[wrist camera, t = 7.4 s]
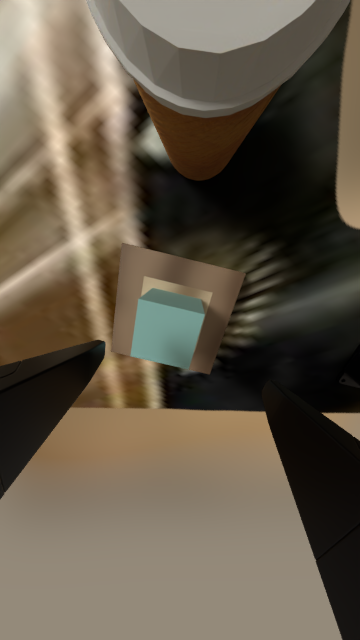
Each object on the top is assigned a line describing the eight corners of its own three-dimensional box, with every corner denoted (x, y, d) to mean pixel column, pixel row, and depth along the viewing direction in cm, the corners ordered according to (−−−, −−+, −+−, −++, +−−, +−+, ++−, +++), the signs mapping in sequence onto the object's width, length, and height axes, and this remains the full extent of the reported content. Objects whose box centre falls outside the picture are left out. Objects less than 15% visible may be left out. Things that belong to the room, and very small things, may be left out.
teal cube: (200, 299, 17) (204, 314, 12) (189, 341, 19) (188, 369, 14) (152, 287, 17) (138, 298, 12) (145, 331, 19) (130, 356, 14)
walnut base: (238, 271, 18) (245, 273, 16) (207, 362, 23) (209, 374, 20) (130, 244, 18) (122, 242, 16) (119, 341, 22) (111, 351, 20)
